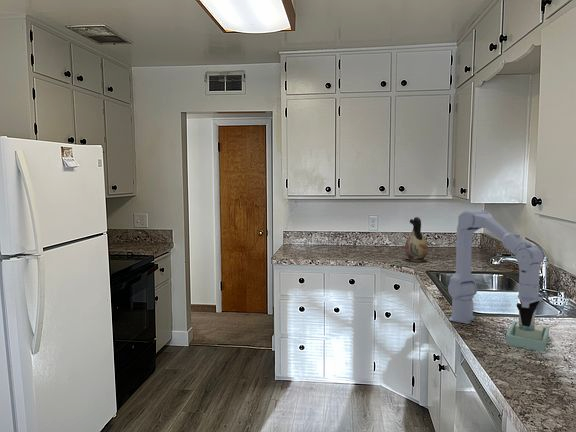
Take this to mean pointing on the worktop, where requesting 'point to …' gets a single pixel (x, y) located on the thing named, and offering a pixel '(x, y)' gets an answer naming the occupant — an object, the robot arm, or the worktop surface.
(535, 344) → the tote
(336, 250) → the worktop surface
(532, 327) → the tin can
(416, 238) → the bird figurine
